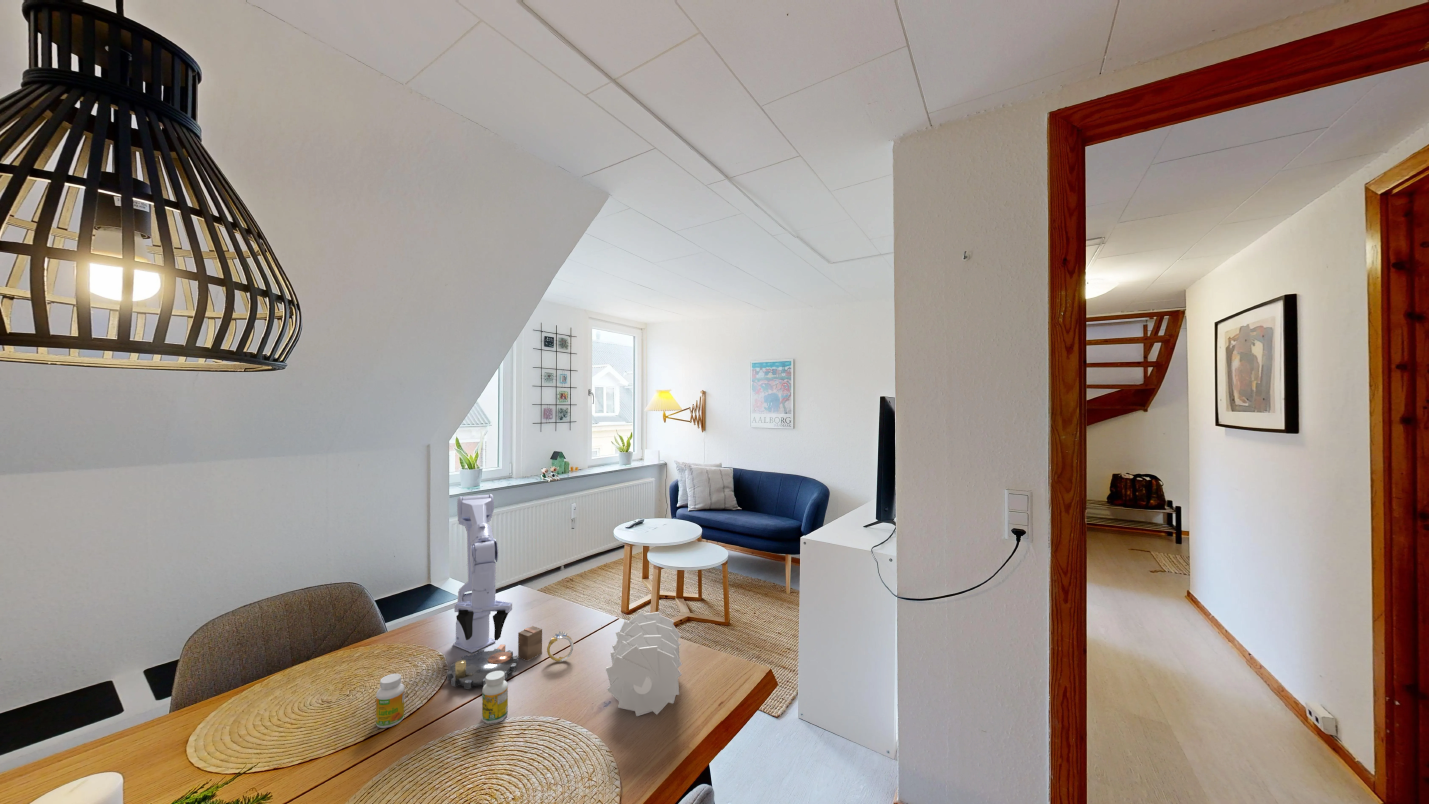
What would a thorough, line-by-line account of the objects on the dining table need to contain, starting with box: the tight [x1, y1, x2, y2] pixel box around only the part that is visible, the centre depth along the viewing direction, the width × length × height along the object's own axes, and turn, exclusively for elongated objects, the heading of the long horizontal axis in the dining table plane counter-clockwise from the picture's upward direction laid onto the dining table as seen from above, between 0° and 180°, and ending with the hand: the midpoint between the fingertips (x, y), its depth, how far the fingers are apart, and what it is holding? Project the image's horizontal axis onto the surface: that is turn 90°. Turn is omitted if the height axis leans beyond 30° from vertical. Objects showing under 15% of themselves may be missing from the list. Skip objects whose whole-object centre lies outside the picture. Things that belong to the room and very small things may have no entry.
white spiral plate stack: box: [605, 611, 683, 717], centre depth 123 cm, size 18×18×25 cm
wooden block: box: [517, 625, 543, 662], centre depth 142 cm, size 4×5×7 cm
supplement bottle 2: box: [481, 671, 509, 724], centre depth 114 cm, size 5×5×10 cm
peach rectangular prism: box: [496, 644, 506, 652], centre depth 142 cm, size 3×1×2 cm, turn 0°
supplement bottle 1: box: [375, 673, 405, 729], centre depth 112 cm, size 5×5×10 cm
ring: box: [546, 630, 575, 663], centre depth 138 cm, size 7×3×8 cm, turn 98°
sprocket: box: [446, 648, 519, 690], centre depth 132 cm, size 17×17×5 cm
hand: (483, 638), depth 131 cm, fingers open, 7 cm apart
